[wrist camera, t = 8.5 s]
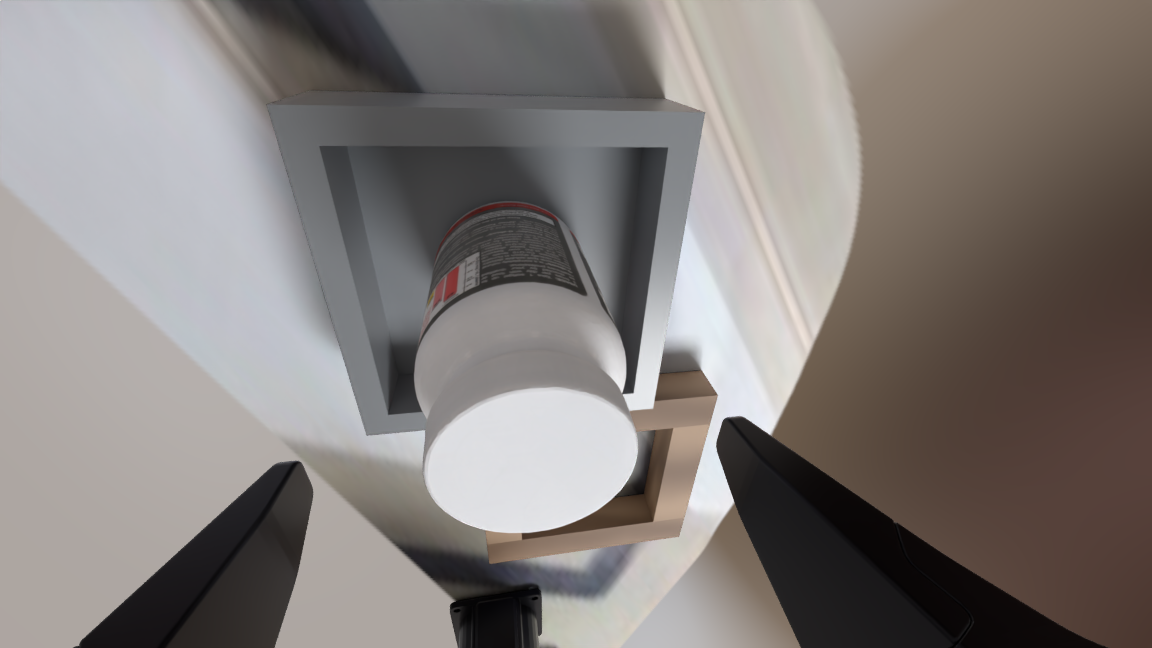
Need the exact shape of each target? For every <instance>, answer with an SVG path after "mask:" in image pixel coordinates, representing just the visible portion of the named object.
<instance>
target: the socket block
mask: <svg viewBox="0 0 1152 648" xmlns="http://www.w3.org/2000/svg"><path fill="white" fill-rule="evenodd" d="M717 396H718V395H717V393H716V392H715V390H714V389H713V387H712V386H711V384H710V383H709V381H708V379H707V378H706V376H705V375H704V373H703V372H702V370H701V371H689V372H677V373H664V374H659V377H658V383H657V389H656V395H655V400H654V406H653V409H643V410H633V411H629V412H630V414H631V417H632V420H633V423H634V426H635V429H636V432H640V431H650V430H656V431H655V436H654V441H653V447H652V452H651V458H650V463H649V468H648V474H647V479H646V484H645V490H644V494H640V495H632V496H624V497H616V498H612V499H611V500H610V501H609V502H608V503H606V504H605V505H604V506H602V507H601V508H600V509H598V510H597V511H595V512H593V513H592V514H590V515H588V516H586V517H584V518H582V519H580V520H577V521H575V522H572V523H570V524H567V525H565V526H561V527H558V528H554V529H550V530H544V531H538V532H531V533H502V532H493V531H487V530H485V531H486V540H487V548H488V556H489V564H492V563H499V562H506V561H513V560H520V559H527V558H534V557H541V556H548V555H555V554H562V553H569V552H576V551H582V550H589V549H596V548H603V547H610V546H617V545H624V544H631V543H638V542H645V541H652V540H659V539H666V538H673V537H679V535H680V531H681V528H682V524H683V520H684V517H685V513H686V509H687V506H688V502H689V498H690V495H691V491H692V488H693V484H694V480H695V477H696V473H697V469H698V466H699V462H700V458H701V455H702V451H703V447H704V444H705V440H706V437H707V433H708V429H709V426H710V422H711V418H712V415H713V411H714V407H715V404H716V400H717Z"/></svg>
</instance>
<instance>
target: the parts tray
mask: <svg viewBox="0 0 1152 648" xmlns="http://www.w3.org/2000/svg"><path fill="white" fill-rule="evenodd" d="M266 105H267V108H268V111H269V115H270V118H271V121H272V125H273V128H274V131H275V134H276V138H277V141H278V144H279V148H280V151H281V154H282V158H283V161H284V164H285V167H286V171H287V174H288V177H289V181H290V184H291V187H292V191H293V194H294V197H295V201H296V204H297V207H298V210H299V214H300V217H301V220H302V224H303V227H304V230H305V234H306V237H307V240H308V243H309V247H310V250H311V253H312V257H313V260H314V263H315V267H316V270H317V273H318V276H319V280H320V283H321V286H322V290H323V293H324V296H325V300H326V303H327V306H328V310H329V313H330V316H331V319H332V323H333V326H334V329H335V333H336V336H337V339H338V343H339V346H340V349H341V352H342V356H343V359H344V362H345V366H346V369H347V372H348V376H349V379H350V382H351V385H352V389H353V392H354V395H355V399H356V402H357V405H358V409H359V412H360V415H361V419H362V422H363V425H364V428H365V432H366V435H367V436H368V435H378V434H389V433H399V432H410V431H421V430H425V429H426V422H427V418H426V417H425V415H424V413H423V412H422V410H421V407H420V405H419V402H418V399H417V396H416V391H415V384H414V370H415V360H416V352H417V348H418V343H419V338H420V333H421V328H422V323H423V318H424V313H425V309H426V304H427V299H428V294H429V289H430V284H431V280H432V274H433V269H434V263H435V258H436V254H437V251H438V249H439V246H440V244H441V242H442V240H443V238H444V236H445V235H446V233H447V232H448V230H449V229H450V228H451V227H452V225H453V224H454V223H455V222H456V221H458V220H459V219H460V218H461V217H462V216H464V215H465V214H466V213H468V212H470V211H471V210H473V209H475V208H478V207H480V206H482V205H486V204H489V203H493V202H500V201H519V202H526V203H529V204H533V205H536V206H539V207H541V208H543V209H546V210H547V211H549V212H551V213H552V214H554V215H555V216H557V217H558V218H559V219H560V220H561V221H563V222H564V223H565V224H566V225H567V226H568V228H569V229H570V230H571V232H572V233H573V234H574V236H575V237H576V239H577V241H578V242H579V245H580V247H581V249H582V251H583V254H584V256H585V258H586V260H587V262H588V264H589V267H590V269H591V271H592V273H593V276H594V278H595V280H596V282H597V284H598V287H599V289H600V291H601V293H602V296H603V298H604V300H605V302H606V305H607V307H608V309H609V311H610V313H611V315H612V318H613V320H614V322H615V324H616V327H617V328H618V331H619V334H620V337H621V340H622V344H623V347H624V350H625V356H626V380H625V385H624V389H623V392H622V394H623V396H624V398H625V401H626V403H627V406H628V409H629V411H633V410H643V409H653V406H654V400H655V395H656V389H657V383H658V377H659V372H660V366H661V360H662V355H663V349H664V343H665V338H666V332H667V326H668V320H669V315H670V309H671V303H672V298H673V292H674V286H675V281H676V275H677V269H678V263H679V258H680V252H681V246H682V241H683V235H684V229H685V224H686V218H687V212H688V206H689V201H690V195H691V189H692V184H693V178H694V172H695V167H696V161H697V155H698V149H699V144H700V138H701V132H702V127H703V121H704V115H705V112H702V111H700V110H697V109H694V108H691V107H688V106H685V105H682V104H680V103H677V102H674V101H671V100H668V99H657V98H614V97H571V96H528V95H485V94H442V93H399V92H355V91H312V90H310V91H307V92H304V93H301V94H298V95H295V96H291V97H288V98H285V99H282V100H279V101H276V102H272V103H269V104H266Z"/></svg>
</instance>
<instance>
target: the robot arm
mask: <svg viewBox="0 0 1152 648" xmlns="http://www.w3.org/2000/svg"><path fill="white" fill-rule="evenodd" d="M716 448H717V453H718V456H719V459H720V461H721V464H722V467H723V470H724V473H725V476H726V479H727V482H728V485H729V488H730V490H731V493H732V496H733V499H734V502H735V505H736V508H737V510H738V513H739V515H740V517H741V520H742V522H743V524H744V526H745V529H746V531H747V533H748V535H749V537H750V539H751V541H752V544H753V546H754V548H755V550H756V552H757V554H758V557H759V559H760V561H761V563H762V565H763V567H764V569H765V572H766V574H767V576H768V578H769V580H770V582H771V584H772V587H773V589H774V591H775V593H776V595H777V597H778V599H779V601H780V604H781V606H782V608H783V610H784V612H785V614H786V616H787V619H788V621H789V623H790V625H791V627H792V629H793V632H794V634H795V636H796V638H797V640H798V642H799V644H800V647H801V648H1108V647H1105V646H1102V645H1100V644H1097V643H1095V642H1093V641H1091V640H1088V639H1086V638H1084V637H1082V636H1080V635H1078V634H1076V633H1074V632H1072V631H1070V630H1068V629H1066V628H1065V627H1063V626H1061V625H1059V624H1057V623H1056V622H1054V621H1052V620H1051V619H1049V618H1047V617H1046V616H1044V615H1042V614H1040V613H1039V612H1038V611H1036V610H1034V609H1033V608H1031V607H1029V606H1028V605H1026V604H1024V603H1023V602H1021V601H1019V600H1018V599H1016V598H1014V597H1013V596H1011V595H1009V594H1008V593H1006V592H1005V591H1003V590H1001V589H1000V588H998V587H996V586H994V585H993V584H991V583H990V582H988V581H986V580H985V579H983V578H981V577H980V576H978V575H977V574H975V573H973V572H972V571H970V570H968V569H967V568H965V567H964V566H962V565H960V564H959V563H957V562H956V561H954V560H952V559H951V558H949V557H948V556H946V555H945V554H943V553H941V552H940V551H938V550H937V549H936V548H934V547H933V546H931V545H930V544H928V543H927V542H925V541H924V540H922V539H920V538H919V537H918V536H916V535H914V534H913V533H911V532H910V531H909V530H907V529H906V528H904V527H903V526H901V525H900V524H898V523H896V522H895V523H894V521H893V520H892V519H891V518H890V517H888V516H887V515H885V514H884V513H882V512H881V511H879V510H878V509H876V508H875V507H874V506H872V505H871V504H869V503H868V502H866V501H865V500H863V499H862V498H861V497H859V496H858V495H856V494H855V493H853V492H852V491H850V490H849V489H848V488H846V487H845V486H843V485H842V484H840V483H839V482H837V481H836V480H834V479H833V478H832V477H830V476H829V475H827V474H826V473H824V472H823V471H821V470H820V469H818V468H817V467H816V466H814V465H813V464H811V463H810V462H808V461H807V460H805V459H804V458H802V457H801V456H799V455H798V454H797V453H795V452H794V451H792V450H791V449H789V448H788V447H787V446H785V445H784V444H782V443H781V442H779V441H778V440H776V439H775V438H773V437H772V436H771V435H769V434H768V433H766V432H765V431H763V430H762V429H760V428H759V427H757V426H756V425H755V424H753V423H752V422H750V421H749V420H747V419H746V418H744V417H741V416H736V417H727V418H725V419H724V420H723V422H722V425H721V429H720V432H719V435H718V439H717V443H716ZM312 499H313V488H312V485H311V482H310V480H309V478H308V476H307V473H306V471H305V469H304V466H303V465H302V463H301V462H299V461H289V462H280V463H277V464H275V465H274V466H272V467H271V468H270V469H269V470H268V471H267V472H266V473H264V474H263V475H262V476H261V477H260V478H259V479H258V480H257V481H256V482H255V483H253V484H252V485H251V486H250V487H249V488H248V489H247V490H246V491H245V492H244V493H243V494H241V495H240V496H239V497H238V498H237V499H236V500H235V501H234V502H233V503H231V504H230V505H229V506H228V507H227V508H226V509H225V510H224V511H223V512H222V513H221V514H219V515H218V516H217V517H216V518H215V519H214V520H213V521H212V522H211V523H210V524H208V525H207V526H206V527H205V528H204V529H203V530H202V531H201V532H200V533H199V534H197V535H196V536H195V537H194V538H193V539H192V540H191V541H190V542H189V543H188V544H187V545H186V546H184V547H183V548H182V549H181V550H180V551H179V552H178V553H177V554H176V555H175V556H173V557H172V558H171V559H170V560H169V561H168V562H167V563H166V564H165V565H164V566H162V567H161V568H160V569H159V570H158V571H157V572H156V573H155V574H154V575H153V576H151V577H150V578H149V579H148V580H147V581H146V582H145V583H144V584H143V585H142V586H141V587H139V588H138V589H137V590H136V591H135V592H134V593H133V594H132V595H131V596H130V597H128V598H127V599H126V600H125V601H124V602H123V603H122V604H121V605H120V606H119V607H118V608H116V609H115V610H114V611H113V612H112V613H111V614H110V615H109V616H108V617H107V618H105V619H104V620H103V621H102V622H101V623H100V624H99V625H98V626H97V627H96V628H95V629H93V630H92V631H91V632H90V633H89V634H88V635H87V636H86V637H85V638H84V639H82V640H81V642H80V644H79V646H76V647H74V648H274V647H275V644H276V641H277V638H278V635H279V632H280V628H281V625H282V622H283V619H284V616H285V613H286V610H287V606H288V603H289V600H290V597H291V594H292V591H293V587H294V584H295V581H296V577H297V573H298V569H299V564H300V560H301V554H302V550H303V545H304V540H305V535H306V530H307V525H308V520H309V514H310V509H311V505H312ZM450 614H451V619H452V623H453V628H454V632H455V636H456V641H457V645H458V648H539V640H538V636H540V635H541V634H542V597H541V591H540V590H539V589H533V590H526V591H520V592H513V593H507V594H500V595H494V596H488V597H481V598H475V599H468V600H462V601H456V602H453V603H451V605H450Z"/></svg>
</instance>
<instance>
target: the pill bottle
mask: <svg viewBox="0 0 1152 648" xmlns="http://www.w3.org/2000/svg"><path fill="white" fill-rule="evenodd" d="M625 380H626V356H625V350H624V347H623V344H622V340H621V337H620V334H619V331H618V328H617V327H616V324H615V322H614V320H613V318H612V315H611V313H610V311H609V309H608V307H607V305H606V302H605V300H604V298H603V296H602V293H601V291H600V289H599V287H598V284H597V282H596V280H595V278H594V276H593V273H592V271H591V269H590V267H589V264H588V262H587V260H586V258H585V256H584V254H583V251H582V249H581V247H580V245H579V242H578V241H577V239H576V237H575V236H574V234H573V233H572V232H571V230H570V229H569V228H568V226H567V225H566V224H565V223H564V222H563V221H561V220H560V219H559V218H558V217H557V216H555V215H554V214H552V213H551V212H549V211H547V210H546V209H543V208H541V207H539V206H536V205H533V204H529V203H526V202H519V201H500V202H493V203H489V204H486V205H482V206H480V207H478V208H475V209H473V210H471V211H470V212H468V213H466V214H465V215H464V216H462V217H461V218H460V219H459V220H458V221H456V222H455V223H454V224H453V225H452V227H451V228H450V229H449V230H448V232H447V233H446V235H445V236H444V238H443V240H442V242H441V244H440V246H439V249H438V251H437V254H436V258H435V263H434V269H433V274H432V280H431V284H430V289H429V294H428V299H427V304H426V309H425V313H424V318H423V323H422V328H421V333H420V338H419V343H418V348H417V352H416V360H415V370H414V384H415V391H416V396H417V399H418V402H419V405H420V407H421V410H422V412H423V413H424V415H425V417H426V418H427V422H426V429H425V445H424V455H423V476H424V481H425V484H426V487H427V489H428V491H429V494H430V495H431V497H432V498H433V500H434V501H435V502H436V503H437V505H438V506H439V507H440V508H441V509H443V510H444V511H445V512H446V513H448V514H449V515H450V516H452V517H454V518H455V519H457V520H459V521H461V522H463V523H465V524H467V525H470V526H472V527H476V528H479V529H483V530H487V531H493V532H502V533H531V532H538V531H544V530H550V529H554V528H558V527H561V526H565V525H567V524H570V523H572V522H575V521H577V520H580V519H582V518H584V517H586V516H588V515H590V514H592V513H593V512H595V511H597V510H598V509H600V508H601V507H602V506H604V505H605V504H606V503H608V502H609V501H610V500H611V499H612V498H613V497H614V496H615V495H616V494H617V493H618V492H619V491H620V490H621V489H622V488H623V486H624V485H625V484H626V482H627V481H628V479H629V477H630V475H631V473H632V472H633V469H634V466H635V463H636V460H637V453H638V440H637V433H636V429H635V426H634V423H633V420H632V417H631V414H630V412H629V409H628V406H627V403H626V401H625V398H624V396H623V394H622V392H623V389H624V385H625Z"/></svg>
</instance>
